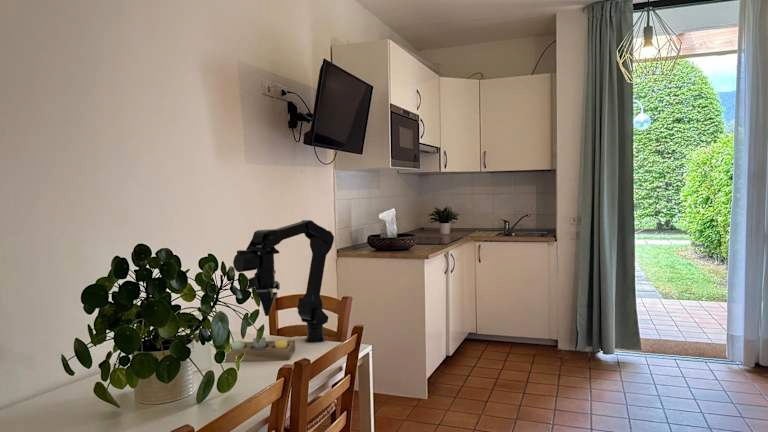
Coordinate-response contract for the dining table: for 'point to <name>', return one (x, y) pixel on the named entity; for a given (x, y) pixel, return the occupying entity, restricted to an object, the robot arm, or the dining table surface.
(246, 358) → the brown button tray
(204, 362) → the cup
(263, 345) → the button slate
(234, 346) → the button sage
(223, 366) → the dining table surface
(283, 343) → the button amber
